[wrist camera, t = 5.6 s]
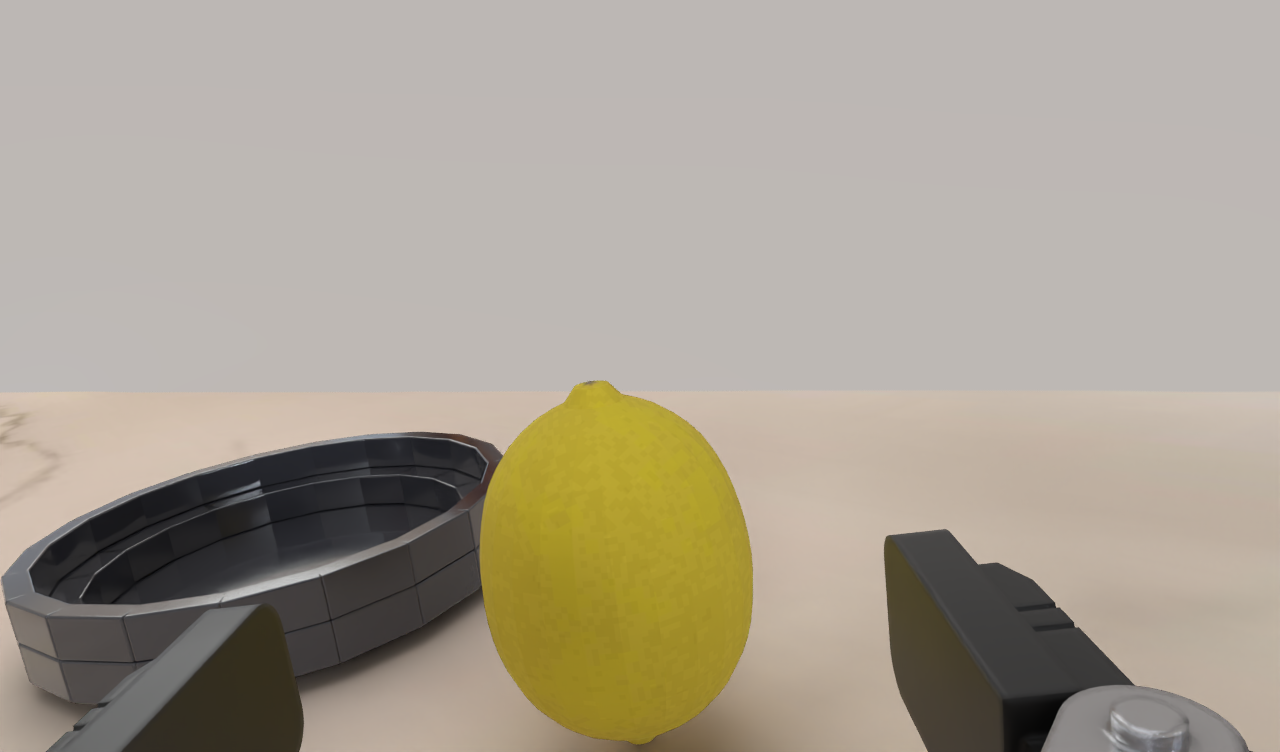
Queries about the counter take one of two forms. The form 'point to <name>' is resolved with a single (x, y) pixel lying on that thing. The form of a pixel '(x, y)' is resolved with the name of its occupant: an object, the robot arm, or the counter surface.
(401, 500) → the pan
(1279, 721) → the counter surface
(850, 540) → the counter surface
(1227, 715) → the counter surface
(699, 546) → the lemon
